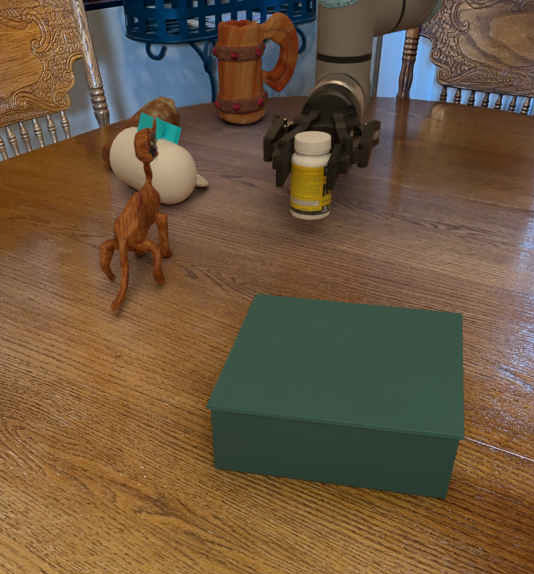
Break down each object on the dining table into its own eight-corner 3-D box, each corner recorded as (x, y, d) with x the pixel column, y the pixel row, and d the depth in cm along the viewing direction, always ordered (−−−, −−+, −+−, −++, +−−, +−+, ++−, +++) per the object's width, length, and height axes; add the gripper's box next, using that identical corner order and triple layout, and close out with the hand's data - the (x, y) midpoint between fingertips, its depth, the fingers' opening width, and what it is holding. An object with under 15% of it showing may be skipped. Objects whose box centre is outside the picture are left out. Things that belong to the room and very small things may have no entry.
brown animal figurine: (147, 324, 68) (128, 180, 59) (82, 320, 69) (53, 176, 59) (187, 246, 81) (177, 118, 72) (132, 243, 82) (115, 115, 73)
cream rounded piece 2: (170, 126, 82) (119, 104, 89) (151, 205, 86) (104, 178, 93) (244, 149, 90) (192, 128, 97) (224, 220, 94) (176, 195, 101)
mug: (223, 131, 114) (218, 22, 104) (207, 117, 119) (201, 13, 109) (305, 121, 118) (308, 16, 108) (286, 108, 123) (287, 7, 113)
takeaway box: (450, 374, 61) (463, 313, 57) (449, 501, 50) (465, 436, 45) (255, 353, 64) (255, 293, 60) (210, 470, 52) (205, 404, 48)
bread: (183, 135, 112) (180, 97, 108) (128, 175, 99) (123, 133, 95) (148, 131, 113) (144, 93, 110) (89, 170, 100) (82, 128, 96)
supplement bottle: (327, 222, 79) (331, 143, 74) (286, 219, 80) (287, 141, 75) (332, 206, 83) (336, 130, 77) (293, 204, 84) (294, 128, 78)
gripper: (398, 148, 92) (385, 216, 75) (265, 141, 95) (224, 205, 77) (405, 84, 87) (393, 142, 70) (265, 79, 90) (220, 133, 72)
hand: (304, 175), depth 74 cm, fingers closed on supplement bottle, 5 cm apart
